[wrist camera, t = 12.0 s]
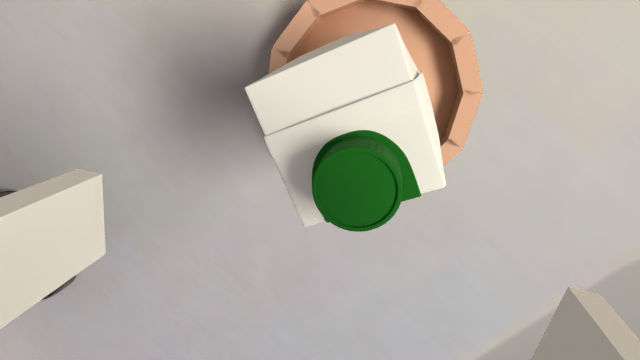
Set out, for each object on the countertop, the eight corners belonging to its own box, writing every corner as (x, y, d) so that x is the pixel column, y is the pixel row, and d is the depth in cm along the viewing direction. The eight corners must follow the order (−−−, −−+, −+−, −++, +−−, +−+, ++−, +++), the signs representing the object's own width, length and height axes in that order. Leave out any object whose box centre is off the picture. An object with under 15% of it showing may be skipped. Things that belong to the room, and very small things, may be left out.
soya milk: (340, 153, 36) (287, 260, 18) (306, 65, 34) (204, 80, 15) (427, 123, 34) (473, 211, 15) (397, 26, 31) (407, -11, 13)
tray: (262, 162, 39) (252, 171, 36) (290, -36, 32) (281, -44, 29) (437, 206, 37) (441, 219, 34) (507, 5, 30) (519, 0, 28)
